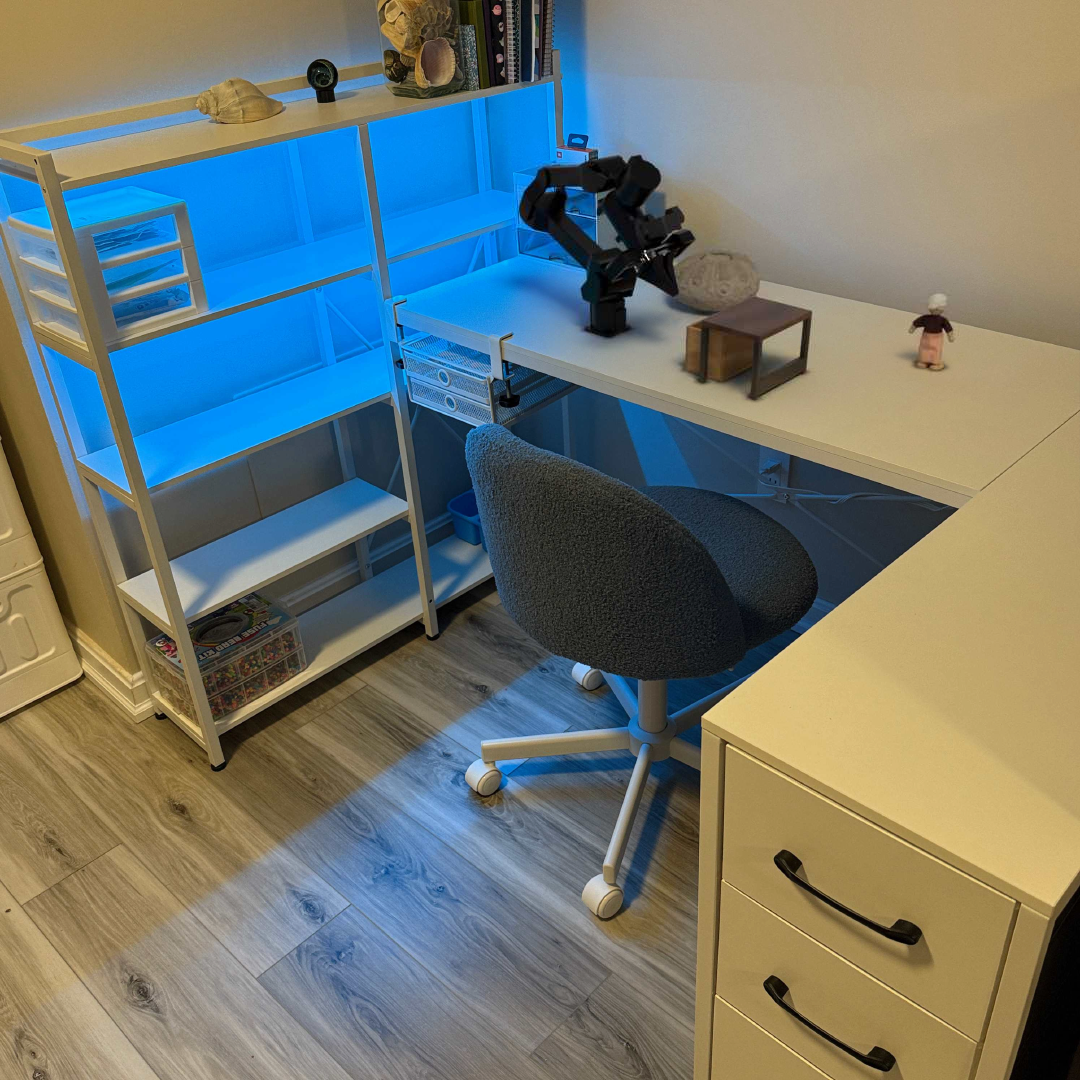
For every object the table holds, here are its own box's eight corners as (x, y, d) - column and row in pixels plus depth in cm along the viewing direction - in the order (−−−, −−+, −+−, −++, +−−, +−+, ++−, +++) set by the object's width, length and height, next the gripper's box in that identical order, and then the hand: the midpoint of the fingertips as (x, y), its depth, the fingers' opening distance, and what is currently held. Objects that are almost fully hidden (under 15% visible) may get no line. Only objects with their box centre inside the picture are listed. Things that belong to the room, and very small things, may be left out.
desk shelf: (698, 382, 178) (701, 320, 172) (750, 355, 187) (755, 296, 181) (754, 400, 171) (759, 336, 165) (806, 372, 180) (812, 310, 174)
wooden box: (684, 370, 182) (686, 326, 178) (719, 353, 188) (721, 310, 184) (721, 382, 178) (724, 337, 173) (756, 364, 183) (759, 320, 179)
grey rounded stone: (653, 310, 208) (654, 261, 203) (691, 284, 220) (693, 237, 215) (737, 325, 200) (741, 273, 194) (771, 296, 212) (775, 247, 207)
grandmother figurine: (951, 364, 180) (964, 292, 173) (948, 372, 177) (961, 300, 170) (904, 358, 183) (915, 288, 176) (901, 366, 180) (912, 295, 173)
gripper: (618, 205, 172) (668, 284, 171) (689, 182, 183) (736, 256, 182) (584, 243, 181) (631, 319, 181) (653, 220, 192) (698, 291, 191)
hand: (676, 295), depth 183 cm, fingers closed
